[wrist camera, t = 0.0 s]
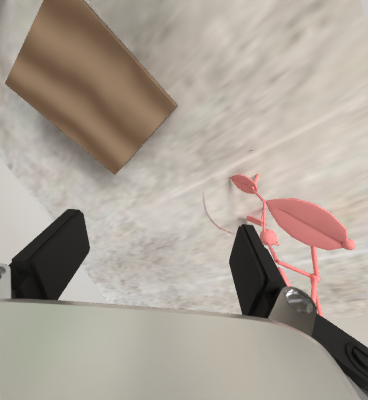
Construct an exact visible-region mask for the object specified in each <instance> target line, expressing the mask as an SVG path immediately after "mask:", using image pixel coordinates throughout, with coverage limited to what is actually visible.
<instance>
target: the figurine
mask: <svg viewBox="0 0 368 400" xmlns="http://www.w3.org/2000/svg"><path fill="white" fill-rule="evenodd" d="M249 151H251V150H249ZM258 177H259V174H257V175H256V178H255V180H254V182H253V181H252V180H251V179H250V178H248V177H246V176H244V175H236V176H235V175H234V176H232V177H230V178H231V180H232V181H233V182H234V184H235V185H236V186H237V187H238V188H239V189H241V190H242V191H244V192H246V193H250V194H254V193H255V194H256V195H257V196H258V197H259V198H260V199H261V200H262V201H263V213H262V217H261V220H260V219H258V218H255V217H252V216H247V218H246V220H248V221H250V222H252V223H255V224H257V225H260V226H262V227H263V231H262V232H261V234H260V240H261V242H262V243H263V244H265V245H268V246H269V249H270V251H271V254H272V256H273V259H274V261H275V262H276V263H278V264H279V265H281V266H284V267H286V268H289V269H291V270H294V271H296V272H298V273H301V274H303V275H306V276H308V277H310V279H311V285H312V289H311V298H312V300H313V301H314V303H315V305H316V307H317V311H318V314H319V315H320V316H322V317H323V314H322V310H321V306H320V302H318V301H319V298H318V292H317V283H318V282H319V281H320V280H321V279H320V276H319V270H318V260H317V251H316V247H318V248H321V249H325V250H333V249H339V248H345V249H347V250H352V249H354V248H355V247H356V244H355V242H354V241H353V240H351V239H348V237H347V230H346V228H345V227H344V226H343V225H342V224H341V223H340V222H339V221H338V220H337V219H336V218H335V217H334V216H333V215H332V214H331V213H330V212H328V211H327V210H325V209H323V208H321V207H320V206H318V205H316V204H314V203H310V202H307V201H303V200H299V199H295V198H290V199H273V200H267V201H265V200H264V199H263V198H262V197H261V196H260V195H259V194H258V193H257V189H258V188H257V185H256V182H257V180H258ZM266 204H267V206H268V209H269V211H270V212H271V214H272V215H273V217H274V219H275V220H276V222H277V223H278V225H279V226H280V227H281V228H282V229H284V230H285V231H286V232H287V233H288V234H289V235H290V236H291V237H293V238H295V239H297V240H299V241H301V242H303V243H304V244H306V245H310V246H311V254H312V261H313V269H314V273H313V274H309V273H307V272H305V271H302V270H300V269H298V268H296V267H293V266H291V265H289V264H287V263H284V262H282V261H280V260H278V258H277V256H276V254H275V252H274V250H273V248H272V246H271V245H273V244H275V245H279V243H278V242H277V236H276V234H275V232H274V231H272V230H269V229H266V228H265V226H266V223H265V211H266ZM204 205H205V204H204ZM205 209H206V208H205ZM218 227H219V226H218ZM221 229H222V228H221ZM225 231H226V230H225ZM227 232H228V231H227ZM230 233H231V232H230ZM233 234H234V233H233ZM278 270H279V272H280V274H281V275H282V277H283V279H284V281H285V283H286V285H287V286H291V285H290V283H289V280H288V278H287V276H286V275H285V273H284V271H283V270H282V269H281V268H280V267H278ZM316 301H317V302H316Z"/></svg>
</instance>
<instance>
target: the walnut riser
mask: <svg viewBox="0 0 368 400" xmlns="http://www.w3.org/2000/svg"><path fill="white" fill-rule="evenodd" d="M5 84H6V85H7V86H8V87H10V88H11V89H12V90H13V91H14V92H16V93H17V94H18V95H19V96H20V97H22V98H23V99H24V100H25V101H26V102H28V103H29V104H30V105H31V106H32V107H34V108H35V109H36V110H37V111H39V112H40V113H41V114H42V115H43V116H45V117H46V118H47V119H48V120H49V121H51V122H52V123H53V124H54V125H55V126H57V127H58V128H59V129H60V130H61V131H63V132H64V133H65V134H66V135H68V136H69V137H70V138H71V139H72V140H74V141H75V142H76V143H77V144H78V145H80V146H81V147H82V148H83V149H84V150H86V151H87V152H88V153H89V154H90V155H92V156H93V157H94V158H95V159H96V160H98V161H99V162H100V163H101V164H103V165H104V166H105V167H106V168H107V169H109V170H110V171H111V172H112V173H113V174H116V173H117V172H118V171H119V170H120V169H121V168H122V167H123V166H124V165H125V164H126V163H127V162H128V161H129V160H130V159H131V158H132V156H133V155H134V154H135V153H136V152H137V151H138V150H139V149H140V147H141V146H142V145H143V144H144V143H145V142H146V141H147V140H148V138H149V137H150V136H151V135H152V134H153V133H154V132H155V131H156V130H157V128H158V127H159V126H160V125H161V124H162V123H163V122H164V121H165V119H166V118H167V117H168V116H169V115H170V114H171V113H172V112H173V110H174V109H175V108H176V107H177V106H178V105H177V104H176V103H175V102H174V101H173V99H172V98H171V97H170V96H169V95H168V94H167V93H166V92H165V90H164V89H163V88H162V87H161V86H160V85H159V84H158V83H157V81H156V80H155V79H154V78H153V77H152V76H151V75H150V74H149V72H148V71H147V70H146V69H145V68H144V67H143V66H142V65H141V63H140V62H139V61H138V60H137V59H136V58H135V57H134V56H133V54H132V53H131V52H130V51H129V50H128V49H127V48H126V47H125V45H124V44H123V43H122V42H121V41H120V40H119V39H118V38H117V36H116V35H115V34H114V33H113V32H112V31H111V30H110V29H109V28H108V26H107V25H106V24H105V23H104V22H103V21H102V20H101V19H100V17H99V16H98V15H97V14H96V13H95V12H94V11H93V10H92V8H91V7H90V6H89V5H88V4H87V3H86V2H85V1H84V0H44V1H43V3H42V5H41V7H40V9H39V12H38V14H37V16H36V18H35V20H34V22H33V24H32V27H31V29H30V31H29V33H28V35H27V37H26V39H25V42H24V44H23V46H22V48H21V50H20V52H19V54H18V56H17V59H16V61H15V63H14V65H13V67H12V69H11V71H10V74H9V76H8V78H7V80H6V82H5Z"/></svg>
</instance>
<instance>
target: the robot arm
mask: <svg viewBox="0 0 368 400" xmlns="http://www.w3.org/2000/svg"><path fill="white" fill-rule="evenodd" d="M89 250H90V246H89V241H88V235H87V230H86V225H85V219H84V214H83V213H82V212H81V211H80V210H76V209H68V210H66V211H65V212H64V213H63V214H62V215H61V216H60V217H58V218H57V219H56V220H55V221H54V222H53V223H52V224H51V225H50V226H49V227H47V228H46V229H45V230H44V231H43V232H42V233H41V234H40V235H39V236H37V237H36V238H35V239H34V240H33V241H32V242H31V243H30V244H28V245H27V246H26V247H25V248H24V249H23V250H22V251H20V252H19V253H18V254H17V255H16V256H15V257H14V258H13V259H12V263H11V264H10V265H7V264H0V400H368V348H367V347H366V346H365V345H363V344H362V343H360V342H359V341H357V340H356V339H354V338H353V337H351V336H350V335H348V334H347V333H345V332H344V331H343V330H341V329H340V328H338V327H337V326H335V325H334V324H332V323H331V322H329V321H328V320H326V319H325V318H323V317H322V316H320V315H319V314H317V307H316V305H315V303H314V301H313V300H312V298H311V297H310V296H309V295H308V294H306V293H305V292H303V291H302V290H300V289H298V288H295V287H291V286H287V285H286V283H285V281H284V279H283V277H282V275H281V274H280V272H279V270H278V268H277V266H276V264H275V262H274V261H273V259H272V257H271V255H270V253H269V251H268V250H267V249H266V248H265V247H264V245H263V244H262V242H261V240H260V238H259V236H258V234H257V232H256V230H255V228H254V226H253V225H246V224H243V225H242V226H239V228H238V231H237V234H236V238H235V241H234V245H233V248H232V252H231V255H230V259H229V264H230V268H231V272H232V276H233V280H234V284H235V288H236V291H237V295H238V299H239V303H240V307H241V311H242V315H239V314H229V313H219V312H208V311H195V310H183V309H170V308H157V307H144V306H130V305H117V304H103V303H89V302H74V301H60V300H58V298H59V297H60V295H61V294H62V292H63V291H64V289H65V288H66V286H67V285H68V283H69V282H70V280H71V279H72V277H73V276H74V274H75V273H76V271H77V270H78V268H79V266H80V265H81V263H82V262H83V260H84V259H85V257H86V256H87V254H88V253H89Z"/></svg>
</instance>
